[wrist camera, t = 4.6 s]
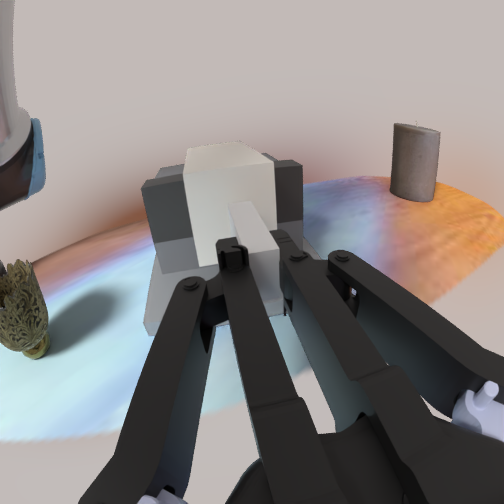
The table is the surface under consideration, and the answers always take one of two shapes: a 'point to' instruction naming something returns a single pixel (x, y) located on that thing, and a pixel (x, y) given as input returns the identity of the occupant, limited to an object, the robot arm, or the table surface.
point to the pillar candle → (414, 162)
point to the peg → (225, 191)
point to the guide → (182, 241)
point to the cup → (23, 312)
